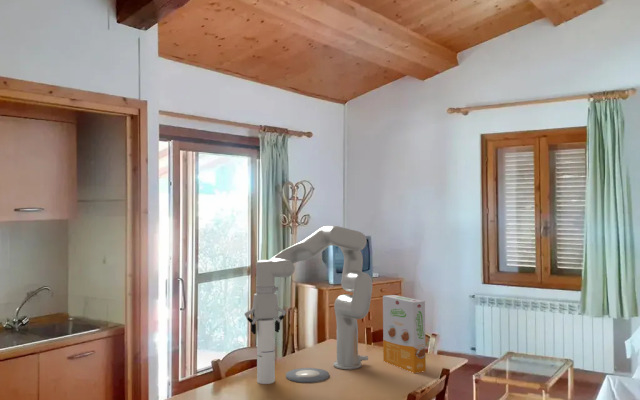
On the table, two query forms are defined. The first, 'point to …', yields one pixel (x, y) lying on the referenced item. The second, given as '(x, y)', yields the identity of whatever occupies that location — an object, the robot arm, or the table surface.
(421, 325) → the cereal box
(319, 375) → the plate
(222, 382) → the table surface
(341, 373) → the table surface
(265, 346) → the cylindrical container
